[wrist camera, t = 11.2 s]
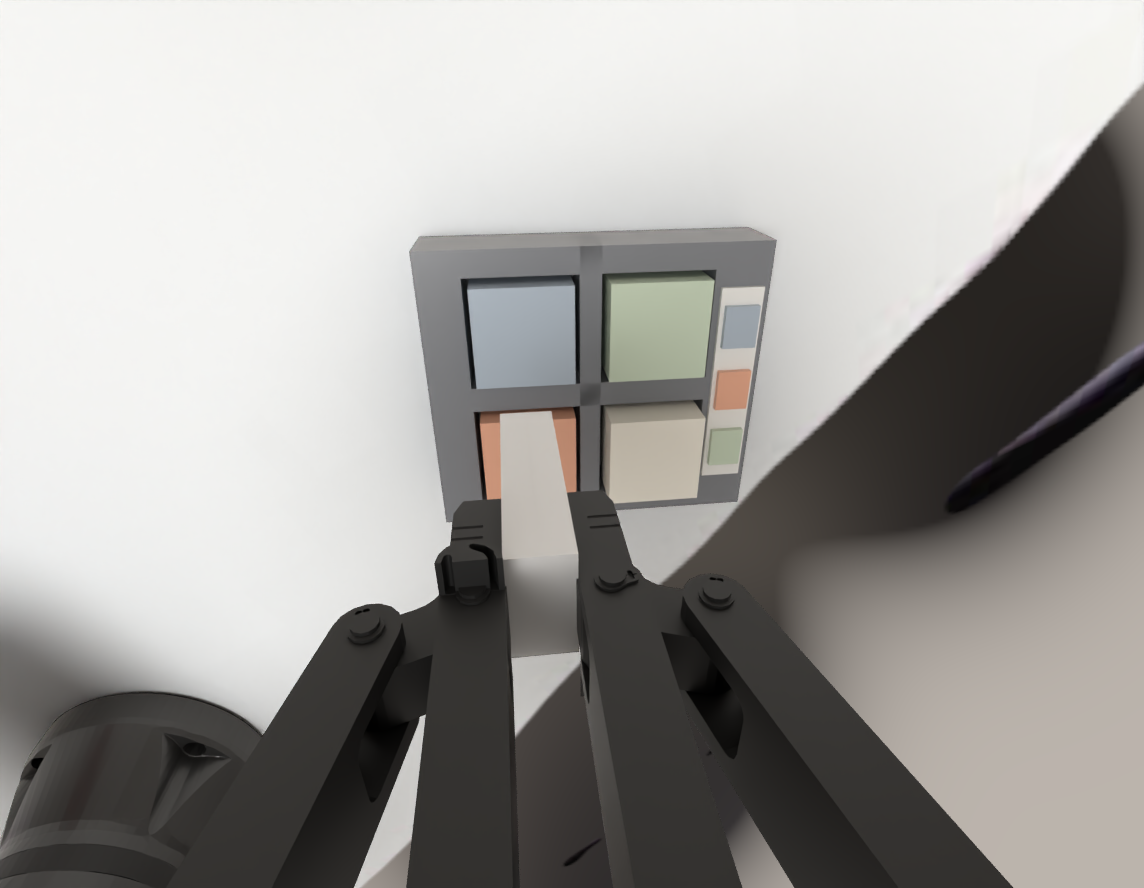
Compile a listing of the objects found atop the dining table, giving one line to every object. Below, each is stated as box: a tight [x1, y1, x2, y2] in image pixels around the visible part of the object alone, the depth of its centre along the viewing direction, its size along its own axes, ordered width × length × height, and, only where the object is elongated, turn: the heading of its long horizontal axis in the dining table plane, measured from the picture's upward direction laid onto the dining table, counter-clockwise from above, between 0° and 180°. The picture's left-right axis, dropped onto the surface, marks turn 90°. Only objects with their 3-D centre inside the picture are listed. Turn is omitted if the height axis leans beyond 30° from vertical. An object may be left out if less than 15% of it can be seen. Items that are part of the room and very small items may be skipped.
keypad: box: [409, 227, 777, 522], centre depth 30 cm, size 14×16×4 cm
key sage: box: [601, 270, 715, 382], centre depth 28 cm, size 5×5×3 cm
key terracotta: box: [480, 407, 576, 500], centre depth 31 cm, size 5×5×3 cm
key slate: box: [467, 275, 576, 389], centre depth 28 cm, size 5×5×3 cm
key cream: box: [601, 400, 706, 504], centre depth 31 cm, size 5×5×3 cm
